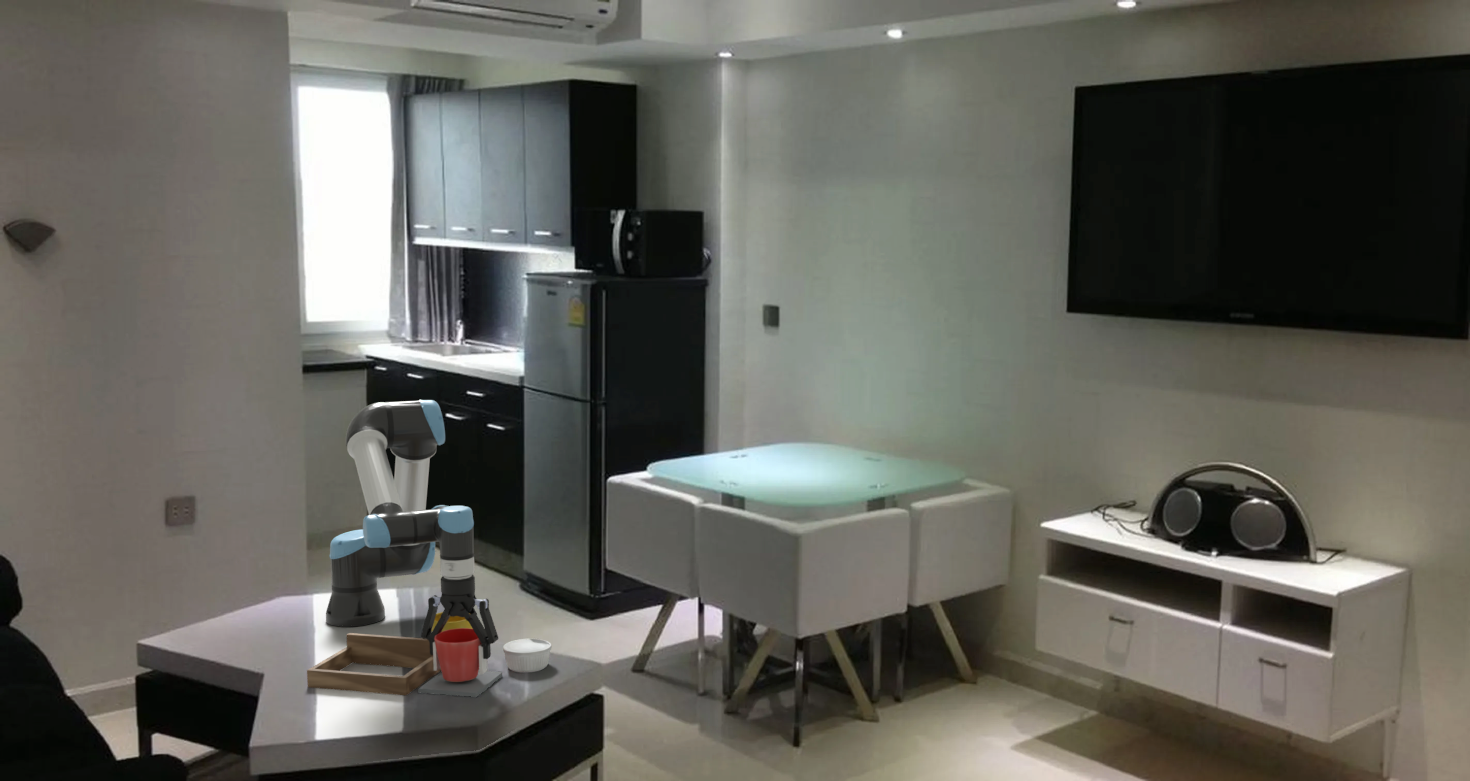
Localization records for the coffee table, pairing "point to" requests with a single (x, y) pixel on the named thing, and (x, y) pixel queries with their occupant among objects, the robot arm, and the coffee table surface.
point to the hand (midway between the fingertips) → (460, 670)
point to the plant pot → (452, 622)
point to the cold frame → (375, 653)
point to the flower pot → (458, 654)
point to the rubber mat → (460, 685)
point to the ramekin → (527, 654)
